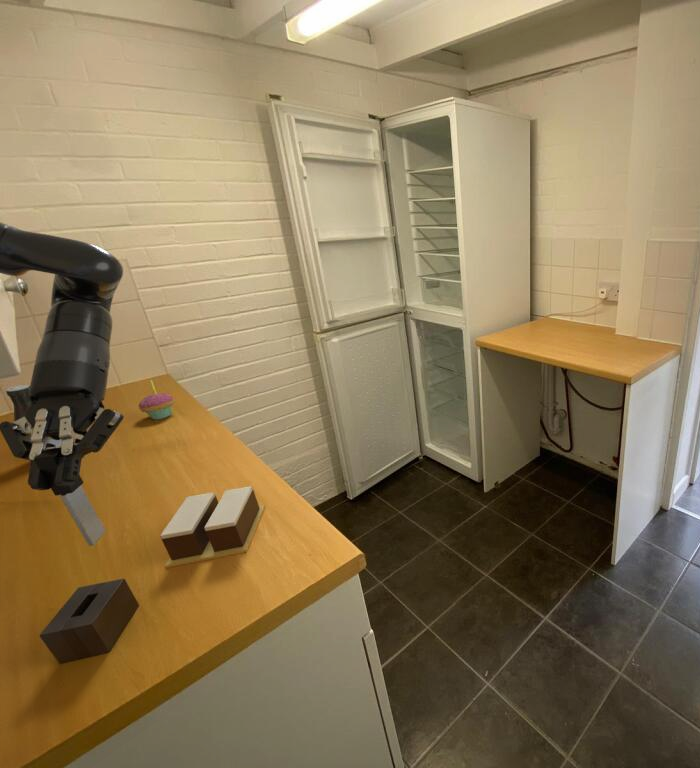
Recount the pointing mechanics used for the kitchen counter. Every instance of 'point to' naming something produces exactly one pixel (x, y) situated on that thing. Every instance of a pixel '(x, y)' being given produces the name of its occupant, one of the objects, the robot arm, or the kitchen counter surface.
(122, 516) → the kitchen counter surface
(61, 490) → the knife
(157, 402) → the cupcake
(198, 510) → the cake
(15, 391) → the sauce bottle
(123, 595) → the knife block
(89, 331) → the robot arm
